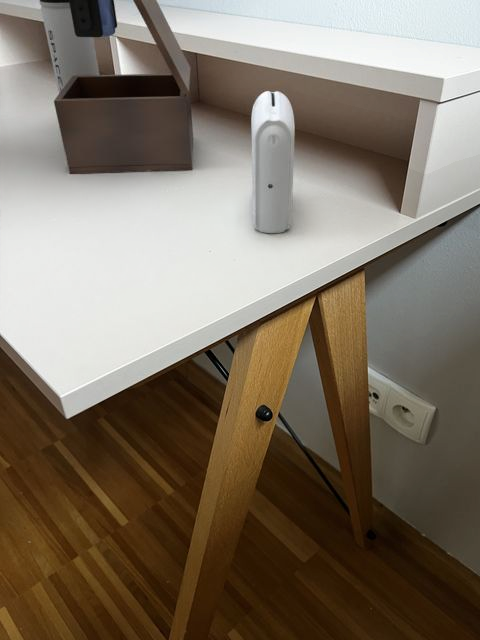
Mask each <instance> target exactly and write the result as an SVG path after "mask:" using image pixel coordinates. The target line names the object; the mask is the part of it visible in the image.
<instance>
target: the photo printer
mask: <svg viewBox="0 0 480 640" xmlns="http://www.w3.org/2000/svg"><path fill="white" fill-rule="evenodd" d="M250 117H251V118H250V121H251V123H250V125H251V126H250V127H251V132H250V133H251V137H250V138H251V173H252V174H251V190H252V191H251V192H252V193H251V195H252V197H251V199H252V200H251V201H252V202H251V203H252V204H251V211H252V221H253V226H254V229H255V230H259V232H260V233H263V234H281V233H284V232H285V231H286V230H289V229H290V225H291V221H292V211H293V194H294V193H293V191H294V166H295V165H294V163H295V162H294V161H295V133H296V132H295V131H296V130H295V116H294V111H293V107H292V104H291V102H290V100H289V99H288V97H287V96H286V95H285V94H284V93H282V92H281V91H278V90H276V91H269V90H266V91H263V92H262V93H261V94H260V95H258V96H257V98H256V99H255V102H254V103H253V105H252V110H251V116H250Z"/></svg>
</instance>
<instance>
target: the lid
mask: <svg viewBox="0 0 480 640" xmlns="http://www.w3.org/2000/svg"><path fill="white" fill-rule="evenodd" d="M132 1H133V2H134V4H135V6H136V8H137V11H138V12H139V14H140V16H141V18H142V20H143V22H144V24H145V25H146V28H147V29H148V32H149V33H150V35H151V38H152V39H153V41H154V43H155V45H156V46H157V48H158V50H159V52H160V54H161V56H162V58H163V60H164V62H165V64H166V65H167V68H168V69H169V71H170V74H172V75H173V77H174V79H175V80H176V82H177V84H178V86H179V88H180V90H181V92H182V94H183V95H185V94H186V93H188V92H189V87H190V81H191V66H190V64H189V62H188V60H187V58H186V56H185V54H184V52H183V50H182V47H181V46H180V44H179V42H178V40H177V38H176V36H175V34H174V32H173V30H172V28H171V26H170V25H169V24H170V23H169V22H168V20H167V18H166V17H165V14H164V12H163V11H162V8H161V6H160V4H159V2H158V1H157V0H132Z"/></svg>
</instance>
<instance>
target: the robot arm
mask: <svg viewBox="0 0 480 640" xmlns="http://www.w3.org/2000/svg"><path fill="white" fill-rule="evenodd" d="M111 1H112V7H113V13H114V21H115V29H117V28H118V20H117V14H116V13H117V12H116V6H115V0H111ZM69 4H70V10H71V15H72V20H73V26H74V31H75V35H76V36H77V37H93V38H102V37H101V36H103V29H102V22H101V16H100V10H99V4H98V0H69Z"/></svg>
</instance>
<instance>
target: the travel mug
mask: <svg viewBox="0 0 480 640" xmlns="http://www.w3.org/2000/svg"><path fill="white" fill-rule="evenodd" d="M39 5H40V12H41V15H42V20H43V25H44V30H45V35H46V39H47V44H48V48H49V53H50V59H51V63H52V67H53V72H54V76H55V82H56V87H57V91H58V94H59V93H60V92H61V91H62V89H63V88H64V87H65V85H66V84H67V83H68V81H69V80H70V79H71V77H72V76H77V75H100V70H99V63H98V58H97V52H96V46H95V40H94V37H77V36H76V35H75V31H74V26H73V20H72V15H71V10H70V4H69V0H39Z"/></svg>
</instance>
